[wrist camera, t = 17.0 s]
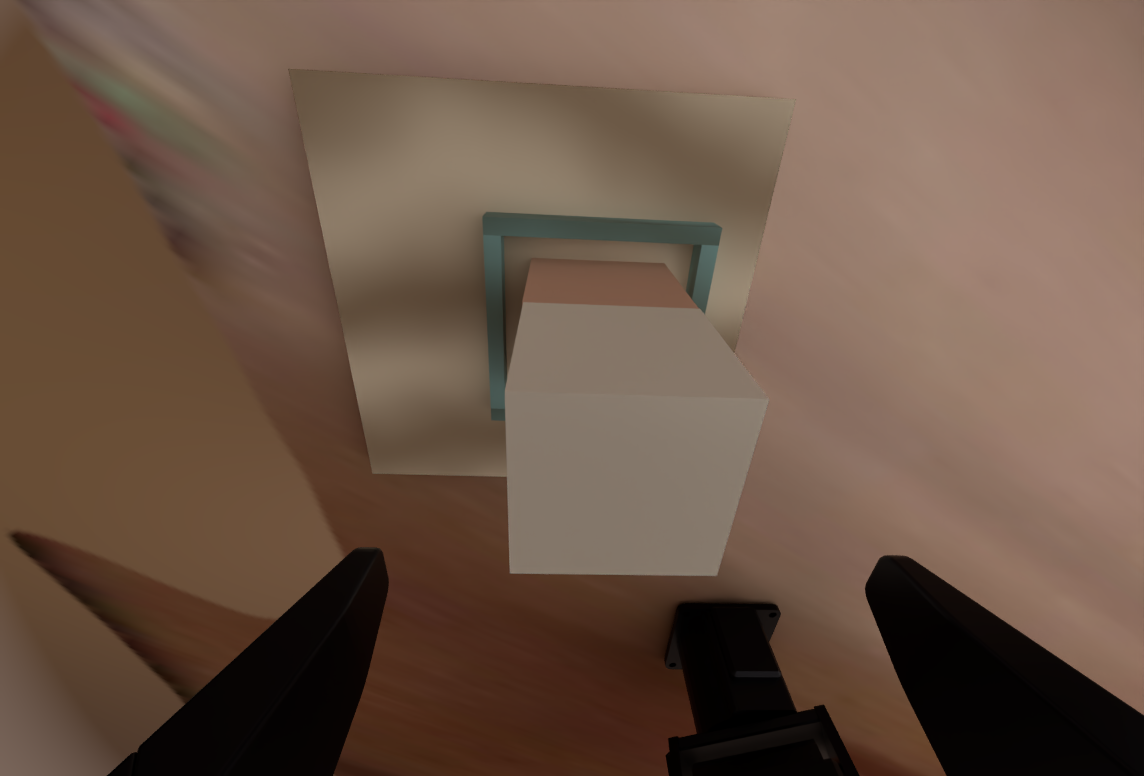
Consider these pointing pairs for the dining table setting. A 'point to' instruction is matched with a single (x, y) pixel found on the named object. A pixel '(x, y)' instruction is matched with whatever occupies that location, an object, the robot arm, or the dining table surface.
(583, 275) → the terracotta block
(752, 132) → the base plate
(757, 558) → the dining table surface
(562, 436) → the cream block
